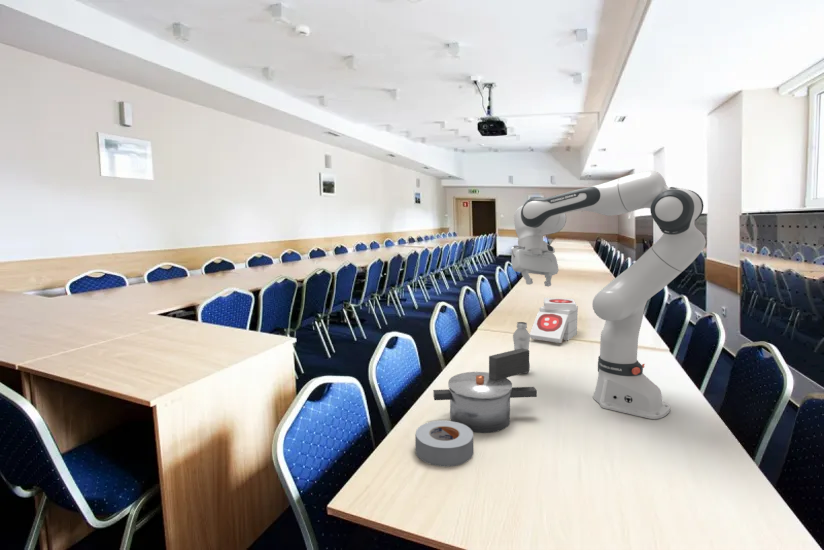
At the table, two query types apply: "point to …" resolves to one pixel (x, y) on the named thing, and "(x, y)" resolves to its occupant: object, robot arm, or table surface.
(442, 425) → the tape roll
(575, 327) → the pizza boxes
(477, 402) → the cooker pot
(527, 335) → the plastic bottle
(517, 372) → the lid
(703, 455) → the table surface
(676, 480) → the table surface
